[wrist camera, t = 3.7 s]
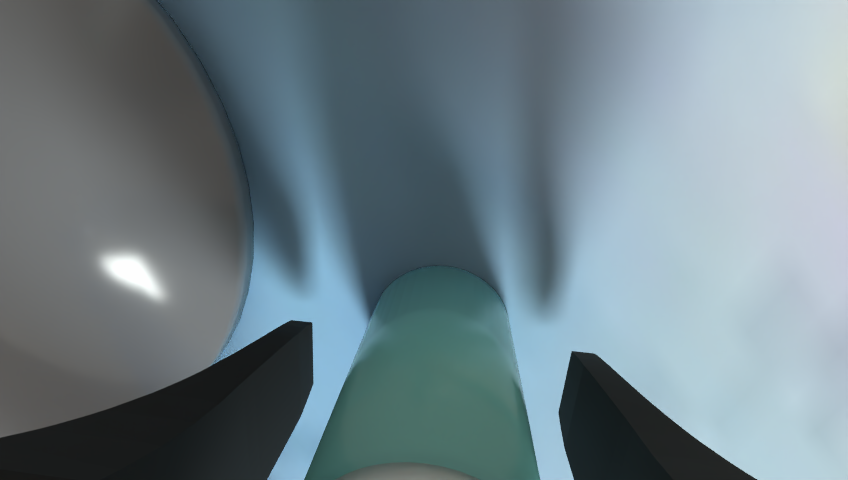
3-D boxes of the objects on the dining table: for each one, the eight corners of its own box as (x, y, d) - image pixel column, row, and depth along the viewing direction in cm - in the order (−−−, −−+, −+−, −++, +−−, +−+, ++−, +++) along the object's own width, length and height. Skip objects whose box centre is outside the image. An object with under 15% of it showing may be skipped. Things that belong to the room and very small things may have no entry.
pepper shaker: (499, 393, 14) (538, 722, 7) (370, 378, 15) (272, 679, 7) (518, 273, 13) (594, 524, 5) (375, 258, 13) (257, 480, 6)
